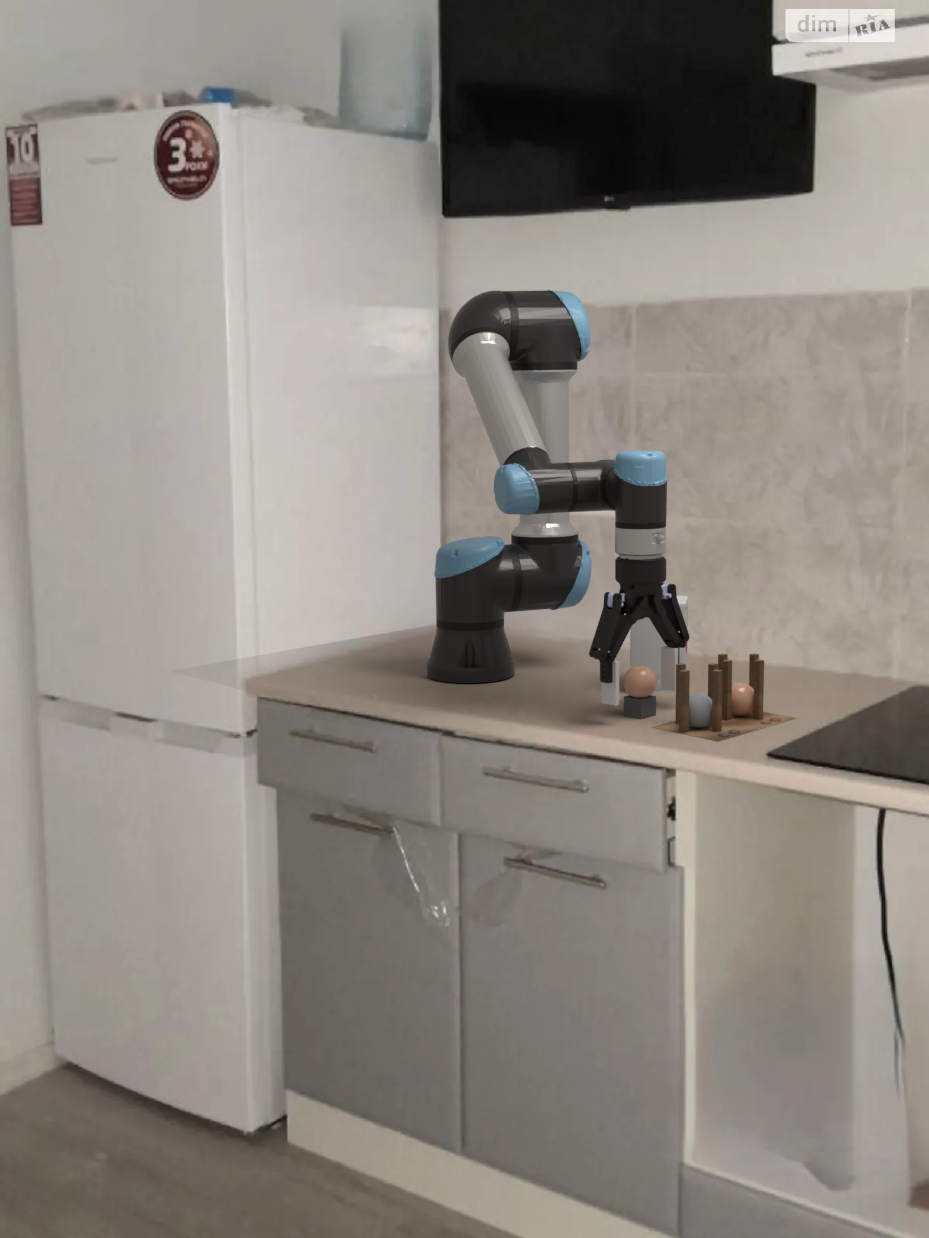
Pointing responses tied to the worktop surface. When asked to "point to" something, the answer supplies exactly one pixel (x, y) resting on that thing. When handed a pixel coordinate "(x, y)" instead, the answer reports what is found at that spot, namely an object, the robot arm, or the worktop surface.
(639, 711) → the stand
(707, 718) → the ball
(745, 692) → the ball
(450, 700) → the worktop surface
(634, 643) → the supplement box
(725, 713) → the rack
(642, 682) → the ball loose
